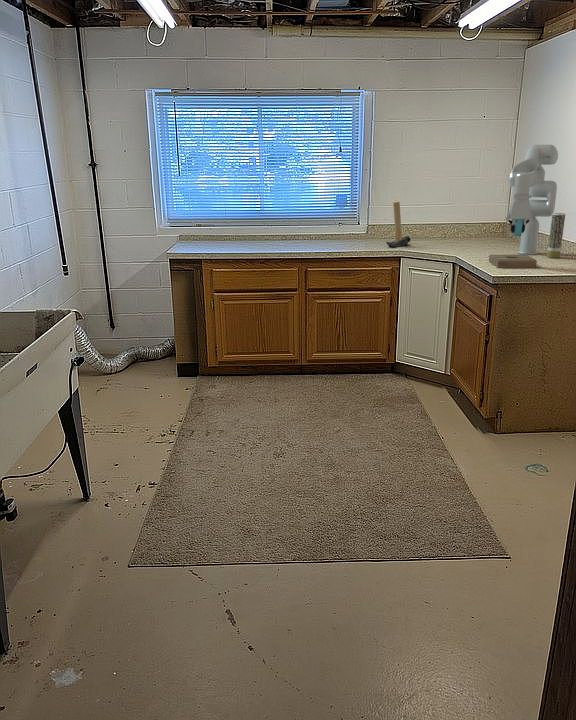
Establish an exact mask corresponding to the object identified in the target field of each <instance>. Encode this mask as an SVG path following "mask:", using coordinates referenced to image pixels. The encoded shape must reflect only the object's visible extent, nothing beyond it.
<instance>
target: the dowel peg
mask: <svg viewBox="0 0 576 720" xmlns="http://www.w3.org/2000/svg"><path fill="white" fill-rule="evenodd" d="M514 225H515V229H514V233H512V236H513V237H521V235H522V226H523V219H517V220H515V223H514Z"/></svg>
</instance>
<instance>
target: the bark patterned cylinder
mask: <svg viewBox="0 0 576 720" xmlns="http://www.w3.org/2000/svg"><path fill="white" fill-rule="evenodd" d="M565 220H566V213H565V212H564V213H563V212H562V213H561V212H555V213H553V214H552V216H551V223H550V229H549V230H550V231H549V239H548V247H547V255H546V257H547V258H549V259H559V258H560V257H561V251H562V243H563V235H564V228H565Z"/></svg>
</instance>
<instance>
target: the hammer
mask: <svg viewBox="0 0 576 720" xmlns="http://www.w3.org/2000/svg"><path fill="white" fill-rule="evenodd" d="M392 204H393V207H392V208H393V219H394V220H393V222H394V232H395V233H394V235H395V239H394V240H393V241H391V242H389V241H386V242H385V243H386V245H387V246H388V247H390V248H400V247H404V246H407V245H408V244H409V243H410V241H411V238H410V236H409V235H408V236H405V237H403V235H402V232H403V231H402V223H401V220H402V219H401V208H400V207H401V205H400V204H401V203H400V201H399V200H398V201H397V200H396V201H393V202H392Z"/></svg>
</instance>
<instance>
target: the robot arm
mask: <svg viewBox="0 0 576 720" xmlns="http://www.w3.org/2000/svg"><path fill="white" fill-rule="evenodd" d="M558 159H559V151H558V150H557V147H556V146H555V145H554V144H533V145H531V146H530V147H528V149H527V151H526V153H525V157H524V159H523V160H522V161H520V162H519V163H517V164H516V165H514V166H513V167H512V169H511V171H510V173H509V177H508V185H509V186H510V187H512V188H514V191H513V199H512V200H510V206H509V210H508V214H507V215H506V217H504V219H505V221H506V222H508V223H509V224H510V233H511V234H513V233H514V229H515V225H514V223H515V220H517V219H523V226H522V235H521V236H520V243H519V250H516V254H518V255H520V254H526V255H528V256H530V255H532V256H534V255H538V254H540V253H539V251H538V249H537V248H538V238H539V232H540V231H539V230H540V222H539V220H538V219H537V217H544V218H545V217H549V218H550V217H552V214H553V213H554V212H555V208H556V200H557V193H558V185H557V182H555V181H553V180H545V176H546V171H545V168H544V167H543V165H549V166H550V165H551V166H552V165H555V164H556V163H557V161H558ZM530 198H546V199H530Z"/></svg>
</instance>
